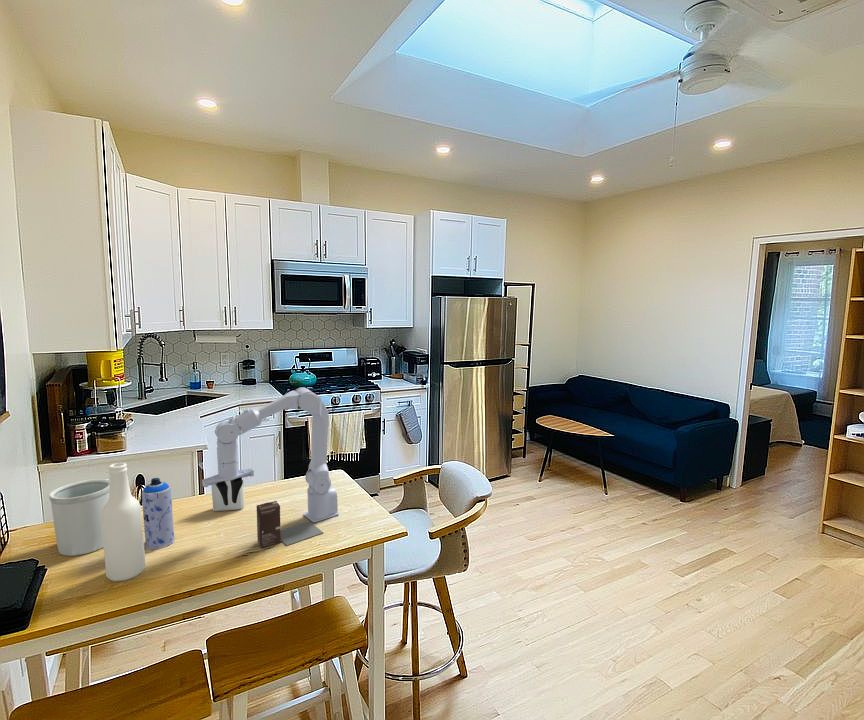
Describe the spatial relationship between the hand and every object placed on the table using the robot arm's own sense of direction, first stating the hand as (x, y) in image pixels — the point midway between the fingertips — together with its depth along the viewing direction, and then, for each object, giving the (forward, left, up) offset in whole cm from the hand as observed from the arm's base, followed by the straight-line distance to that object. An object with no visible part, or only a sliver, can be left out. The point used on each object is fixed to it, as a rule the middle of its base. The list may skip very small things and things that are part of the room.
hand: (230, 503), depth 143 cm
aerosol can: (+18, -9, -11) cm, 23 cm away
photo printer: (-5, -20, -11) cm, 23 cm away
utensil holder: (+35, -22, -11) cm, 43 cm away
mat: (-17, +12, -10) cm, 23 cm away
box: (-7, +12, -11) cm, 18 cm away
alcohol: (+28, +3, -11) cm, 30 cm away
